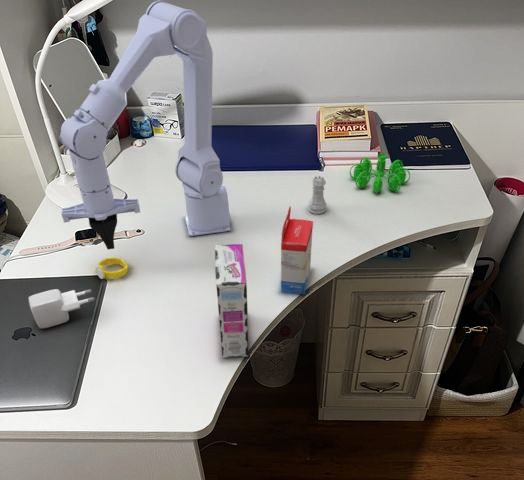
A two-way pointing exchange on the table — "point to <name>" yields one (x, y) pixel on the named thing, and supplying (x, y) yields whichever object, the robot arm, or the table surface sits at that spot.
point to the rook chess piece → (317, 196)
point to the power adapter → (55, 306)
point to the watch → (104, 274)
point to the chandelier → (379, 174)
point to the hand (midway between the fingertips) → (110, 246)
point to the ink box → (295, 254)
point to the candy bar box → (232, 300)
